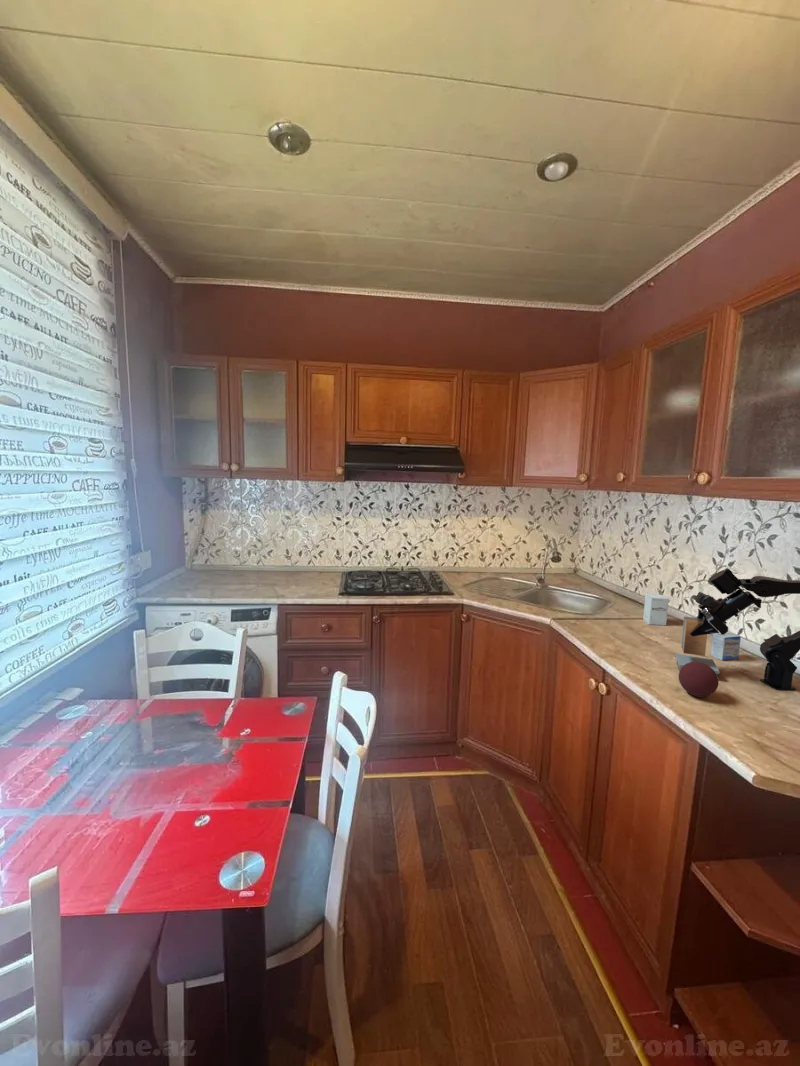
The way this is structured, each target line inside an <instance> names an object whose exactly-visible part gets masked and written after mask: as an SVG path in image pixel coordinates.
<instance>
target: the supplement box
mask: <svg viewBox="0 0 800 1066" xmlns="http://www.w3.org/2000/svg"><path fill="white" fill-rule="evenodd" d="M669 601H670V598H668V597H667V596H665V595H664V594H656V593H655V594H654V593H645V597H644V605H643V617H642V620H643V621H644V622H647V623H646V624H647V625H652V626H653V625H655V626H656V625H657V626H664V625H667V618H668V609H669Z"/></svg>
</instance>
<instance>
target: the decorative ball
mask: <svg viewBox="0 0 800 1066" xmlns="http://www.w3.org/2000/svg"><path fill="white" fill-rule="evenodd" d="M678 671H679V670H678ZM678 681H679V684H680V686H681V687H682V688H683V689H684V690H685V691H686V692H687V693H688V694H691V695H692V696H695V697H698V698H699V697H701V698H703V697H704V698H705V697H709V696H711V695H712V694H714V693H715V692H716V691H717V689H718V688H719V676H718V674H716V673H715V671H714V670H713V669H712V668H711V667H710V666H708V665H706V664H704V663H701V662H690V663H687V664H685V665H684V666H683V667H682V668H681V669H680V671H679V672H678Z"/></svg>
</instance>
